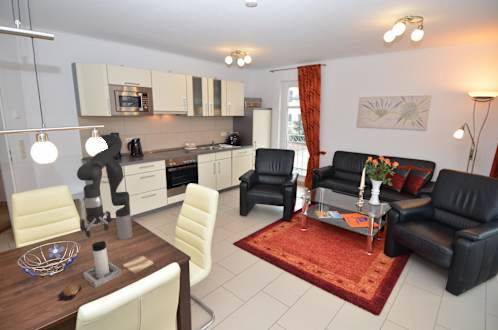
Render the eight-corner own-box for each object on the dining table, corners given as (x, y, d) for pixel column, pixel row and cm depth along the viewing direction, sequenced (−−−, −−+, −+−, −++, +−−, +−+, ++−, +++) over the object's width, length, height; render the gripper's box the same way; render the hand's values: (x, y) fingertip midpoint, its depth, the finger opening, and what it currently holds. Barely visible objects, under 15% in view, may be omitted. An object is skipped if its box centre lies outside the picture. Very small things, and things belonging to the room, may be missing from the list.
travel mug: (96, 281, 134) (91, 246, 130) (96, 274, 140) (92, 241, 136) (109, 277, 137) (105, 244, 133) (109, 270, 143) (105, 238, 139)
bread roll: (67, 287, 130) (66, 281, 130) (84, 286, 132) (83, 279, 131) (54, 302, 120) (53, 296, 119) (73, 301, 121) (72, 294, 120)
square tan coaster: (122, 266, 147) (122, 264, 147) (141, 256, 157) (141, 255, 157) (134, 274, 141) (133, 272, 140) (153, 263, 150) (153, 262, 150)
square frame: (84, 277, 137) (83, 270, 136) (109, 265, 148) (108, 259, 147) (95, 287, 130) (94, 280, 129) (121, 274, 140) (120, 267, 139)
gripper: (104, 199, 138) (108, 226, 141) (75, 207, 126) (79, 236, 130) (111, 202, 133) (114, 230, 137) (81, 210, 122) (85, 241, 126)
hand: (97, 233), depth 133 cm, fingers open, 8 cm apart
